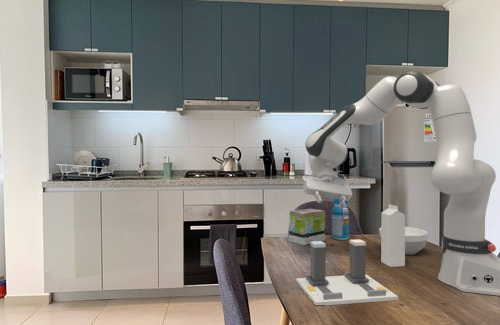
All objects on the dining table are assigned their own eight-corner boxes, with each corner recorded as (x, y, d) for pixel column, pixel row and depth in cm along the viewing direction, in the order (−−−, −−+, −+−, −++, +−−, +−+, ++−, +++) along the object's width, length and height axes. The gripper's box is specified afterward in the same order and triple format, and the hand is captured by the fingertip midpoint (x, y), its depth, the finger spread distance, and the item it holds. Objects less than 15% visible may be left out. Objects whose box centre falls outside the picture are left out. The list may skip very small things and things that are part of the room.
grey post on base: (361, 276, 108) (361, 238, 108) (368, 282, 103) (369, 242, 103) (346, 277, 107) (346, 239, 107) (353, 283, 102) (353, 243, 102)
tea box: (304, 246, 150) (304, 213, 150) (288, 241, 158) (288, 210, 158) (325, 240, 160) (325, 210, 160) (309, 237, 168) (309, 207, 167)
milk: (395, 261, 128) (395, 203, 128) (405, 266, 122) (405, 206, 122) (380, 262, 127) (381, 204, 127) (389, 267, 121) (390, 206, 121)
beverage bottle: (331, 239, 162) (331, 198, 161) (331, 235, 170) (331, 196, 169) (350, 240, 160) (350, 199, 159) (348, 236, 168) (348, 196, 168)
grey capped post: (322, 278, 106) (322, 240, 106) (328, 284, 101) (328, 244, 101) (307, 279, 105) (307, 241, 105) (312, 285, 100) (312, 245, 100)
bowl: (421, 246, 149) (421, 227, 149) (433, 259, 131) (433, 236, 130) (376, 244, 153) (376, 225, 153) (382, 255, 135) (382, 234, 135)
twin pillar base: (365, 277, 111) (365, 270, 111) (398, 299, 93) (398, 291, 93) (296, 281, 107) (296, 274, 107) (315, 306, 89) (315, 297, 89)
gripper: (304, 168, 135) (310, 194, 125) (349, 177, 140) (358, 202, 130) (298, 179, 139) (303, 205, 129) (342, 187, 144) (350, 212, 134)
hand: (331, 204), depth 130 cm, fingers open, 8 cm apart
